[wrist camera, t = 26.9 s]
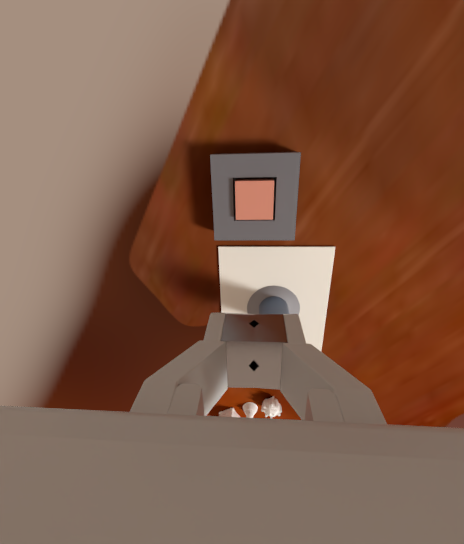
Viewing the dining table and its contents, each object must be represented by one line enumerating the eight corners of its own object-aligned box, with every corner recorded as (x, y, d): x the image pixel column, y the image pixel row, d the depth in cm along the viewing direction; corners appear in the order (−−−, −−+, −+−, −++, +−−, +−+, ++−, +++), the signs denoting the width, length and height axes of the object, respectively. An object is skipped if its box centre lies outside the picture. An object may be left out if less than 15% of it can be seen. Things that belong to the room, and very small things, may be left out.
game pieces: (227, 420, 55) (225, 436, 52) (218, 409, 54) (216, 425, 51) (283, 402, 51) (284, 418, 48) (275, 390, 50) (276, 406, 47)
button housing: (214, 153, 34) (210, 154, 31) (296, 151, 34) (300, 152, 31) (217, 232, 39) (214, 240, 35) (291, 232, 38) (294, 240, 35)
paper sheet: (218, 246, 39) (218, 247, 39) (334, 246, 38) (335, 247, 38) (223, 357, 48) (223, 358, 47) (319, 360, 46) (319, 362, 46)
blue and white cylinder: (258, 295, 42) (260, 354, 30) (289, 296, 41) (304, 355, 30) (257, 321, 44) (259, 386, 32) (287, 321, 43) (300, 387, 32)
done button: (236, 178, 34) (235, 181, 32) (272, 177, 34) (274, 180, 31) (237, 214, 36) (235, 219, 33) (271, 213, 36) (272, 219, 33)
